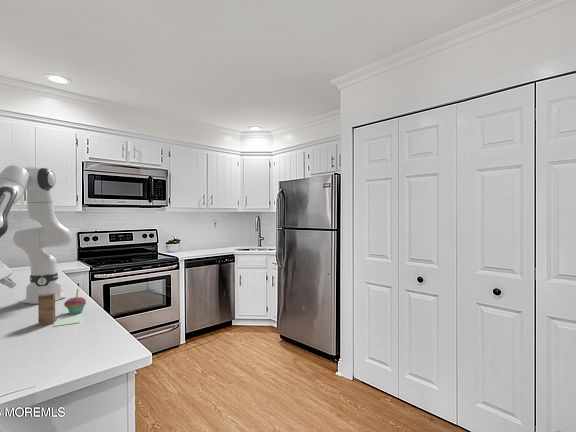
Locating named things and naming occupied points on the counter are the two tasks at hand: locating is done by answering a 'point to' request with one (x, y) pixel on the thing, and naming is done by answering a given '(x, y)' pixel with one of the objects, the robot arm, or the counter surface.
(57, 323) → the mat
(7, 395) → the counter surface
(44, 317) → the block
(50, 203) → the robot arm
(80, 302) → the cupcake
